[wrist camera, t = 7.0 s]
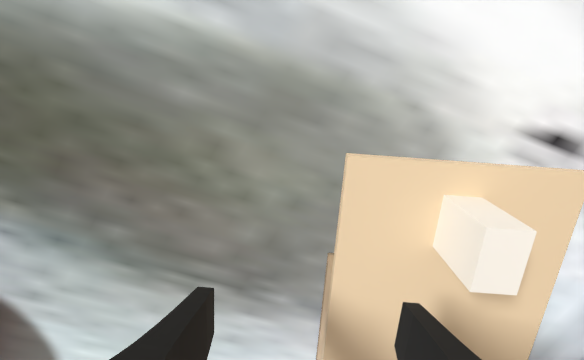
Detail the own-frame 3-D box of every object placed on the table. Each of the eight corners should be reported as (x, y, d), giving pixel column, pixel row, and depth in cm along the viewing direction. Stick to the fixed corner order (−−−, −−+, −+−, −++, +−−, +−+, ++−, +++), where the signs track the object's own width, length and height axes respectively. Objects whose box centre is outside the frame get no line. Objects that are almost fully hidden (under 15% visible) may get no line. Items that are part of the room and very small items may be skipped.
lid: (510, 383, 21) (566, 463, 16) (320, 369, 21) (325, 445, 16) (583, 170, 17) (685, 201, 12) (346, 153, 17) (362, 177, 12)
